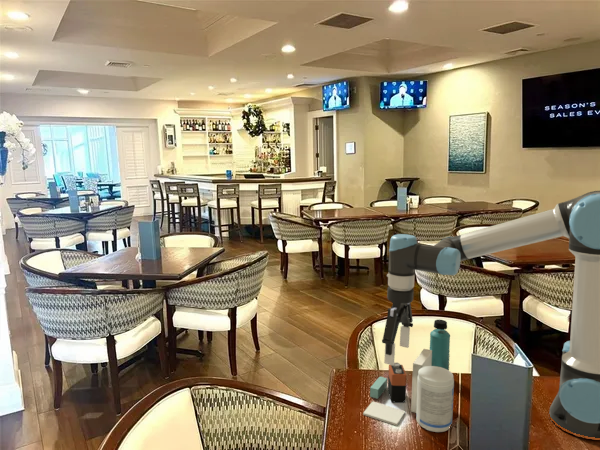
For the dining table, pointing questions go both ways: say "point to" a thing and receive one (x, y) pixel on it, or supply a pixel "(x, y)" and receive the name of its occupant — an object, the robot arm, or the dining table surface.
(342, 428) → the dining table surface
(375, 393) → the block
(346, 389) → the dining table surface
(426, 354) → the white u-shaped bracket
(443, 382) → the supplement tub
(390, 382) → the battery
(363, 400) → the dining table surface
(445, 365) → the beverage bottle
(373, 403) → the mat
